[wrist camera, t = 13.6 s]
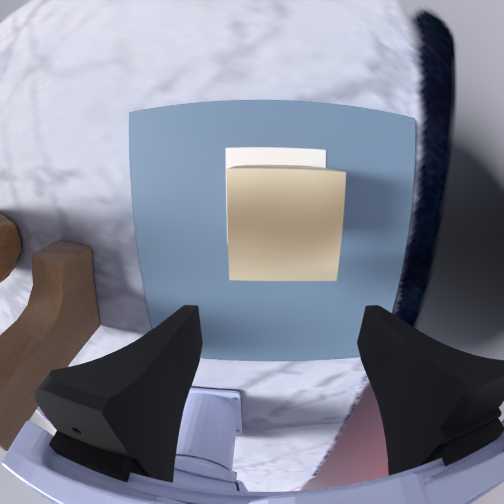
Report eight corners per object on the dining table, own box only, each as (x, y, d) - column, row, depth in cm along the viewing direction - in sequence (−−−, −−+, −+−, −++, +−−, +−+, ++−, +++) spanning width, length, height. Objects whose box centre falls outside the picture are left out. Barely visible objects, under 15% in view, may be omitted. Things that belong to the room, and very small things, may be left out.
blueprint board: (377, 351, 24) (379, 355, 24) (160, 350, 25) (158, 354, 24) (411, 118, 17) (415, 118, 16) (132, 113, 18) (128, 112, 17)
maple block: (317, 246, 15) (336, 280, 11) (238, 245, 15) (229, 280, 11) (321, 167, 14) (345, 172, 10) (237, 165, 14) (226, 168, 10)
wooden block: (59, 238, 21) (-81, 333, 5) (93, 245, 22) (-59, 364, 5) (70, 315, 24) (-24, 425, 8) (102, 325, 25) (10, 455, 8)
